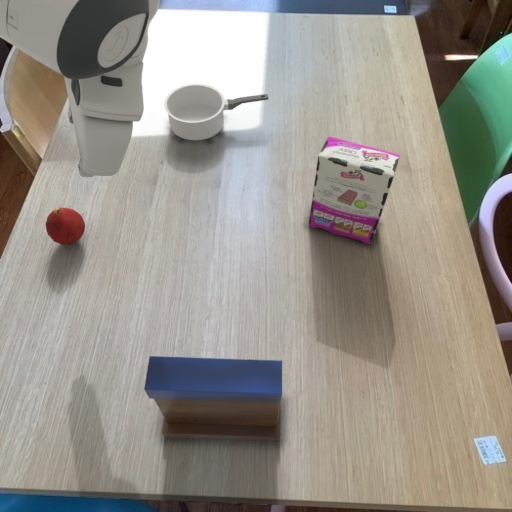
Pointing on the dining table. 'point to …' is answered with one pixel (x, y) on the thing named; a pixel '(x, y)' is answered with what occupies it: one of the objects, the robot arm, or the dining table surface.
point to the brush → (217, 397)
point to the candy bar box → (351, 188)
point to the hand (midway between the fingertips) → (80, 145)
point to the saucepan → (200, 110)
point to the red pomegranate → (65, 226)
